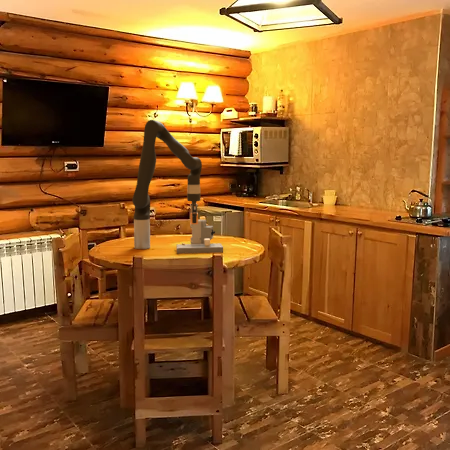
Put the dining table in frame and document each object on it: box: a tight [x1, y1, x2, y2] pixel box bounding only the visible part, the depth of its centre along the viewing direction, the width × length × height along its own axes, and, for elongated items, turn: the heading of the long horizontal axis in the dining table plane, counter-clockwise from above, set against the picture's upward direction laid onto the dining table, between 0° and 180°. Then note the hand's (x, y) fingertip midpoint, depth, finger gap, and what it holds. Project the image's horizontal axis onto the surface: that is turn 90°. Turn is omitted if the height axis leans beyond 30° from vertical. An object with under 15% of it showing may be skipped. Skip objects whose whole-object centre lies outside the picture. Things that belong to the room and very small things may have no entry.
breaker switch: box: [204, 238, 211, 246], centre depth 295 cm, size 3×4×4 cm
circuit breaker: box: [189, 219, 216, 244], centre depth 314 cm, size 8×14×15 cm, turn 78°
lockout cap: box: [189, 212, 199, 224], centre depth 292 cm, size 4×4×6 cm
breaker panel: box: [176, 242, 224, 254], centre depth 294 cm, size 26×12×4 cm, turn 97°
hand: (194, 222), depth 292 cm, fingers closed on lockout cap, 4 cm apart
